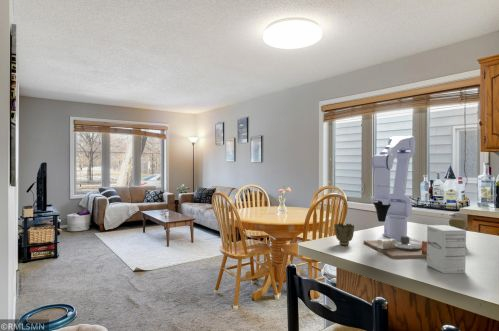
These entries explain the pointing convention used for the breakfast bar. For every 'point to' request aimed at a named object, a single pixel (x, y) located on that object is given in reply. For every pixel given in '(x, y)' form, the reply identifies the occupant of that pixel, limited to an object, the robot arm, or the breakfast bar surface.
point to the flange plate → (398, 244)
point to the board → (401, 253)
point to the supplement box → (446, 248)
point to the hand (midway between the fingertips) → (381, 221)
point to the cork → (457, 223)
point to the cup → (344, 233)
